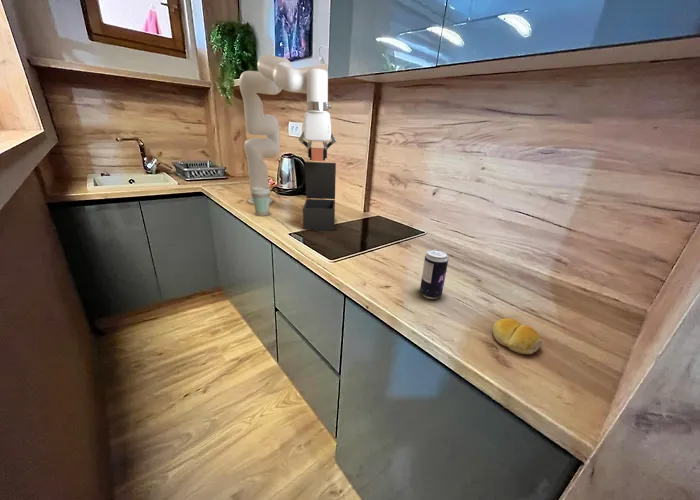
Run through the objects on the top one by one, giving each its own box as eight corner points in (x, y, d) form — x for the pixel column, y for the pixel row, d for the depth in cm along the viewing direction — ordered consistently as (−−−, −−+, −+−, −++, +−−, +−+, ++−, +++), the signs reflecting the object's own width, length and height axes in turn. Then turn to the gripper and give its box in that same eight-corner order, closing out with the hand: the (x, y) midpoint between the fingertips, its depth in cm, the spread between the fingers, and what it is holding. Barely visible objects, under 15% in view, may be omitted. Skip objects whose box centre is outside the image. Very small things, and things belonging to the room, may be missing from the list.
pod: (312, 159, 120) (312, 147, 118) (323, 159, 120) (323, 148, 118) (311, 160, 116) (311, 148, 114) (323, 161, 116) (323, 149, 114)
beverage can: (437, 303, 76) (445, 260, 72) (416, 296, 79) (422, 254, 74) (444, 293, 81) (451, 252, 76) (423, 287, 83) (429, 247, 79)
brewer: (334, 230, 124) (334, 209, 120) (303, 229, 123) (302, 208, 120) (334, 218, 138) (335, 199, 135) (306, 218, 137) (306, 198, 134)
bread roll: (503, 323, 70) (507, 308, 68) (544, 345, 63) (550, 329, 61) (482, 335, 65) (487, 320, 64) (524, 361, 58) (530, 344, 57)
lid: (335, 163, 124) (335, 162, 125) (304, 162, 123) (305, 161, 124) (335, 199, 134) (335, 198, 135) (306, 198, 133) (306, 197, 134)
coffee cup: (269, 217, 136) (267, 190, 131) (250, 216, 136) (247, 189, 131) (274, 211, 144) (272, 186, 139) (256, 211, 144) (254, 185, 139)
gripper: (340, 109, 114) (339, 159, 122) (295, 107, 114) (296, 158, 121) (340, 108, 108) (339, 161, 115) (292, 106, 107) (294, 160, 114)
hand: (317, 159), depth 118 cm, fingers closed on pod, 4 cm apart
